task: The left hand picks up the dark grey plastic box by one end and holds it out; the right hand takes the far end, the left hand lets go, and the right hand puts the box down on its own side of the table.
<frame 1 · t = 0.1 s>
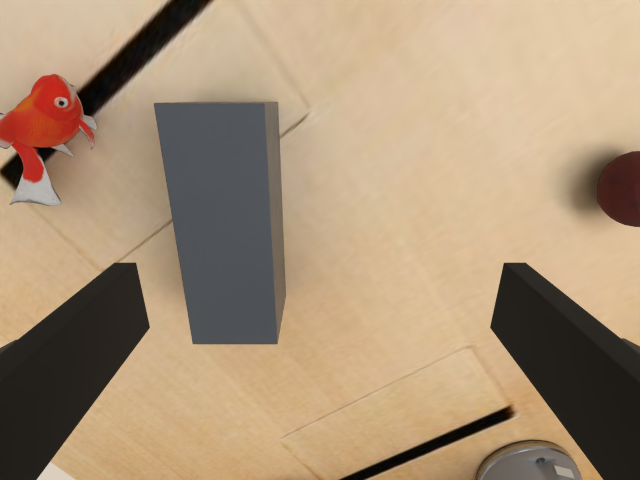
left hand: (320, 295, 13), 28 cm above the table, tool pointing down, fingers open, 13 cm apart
box: (244, 209, 41), on the table
fish: (66, 142, 38), on the table
dark red ball: (613, 180, 39), on the table
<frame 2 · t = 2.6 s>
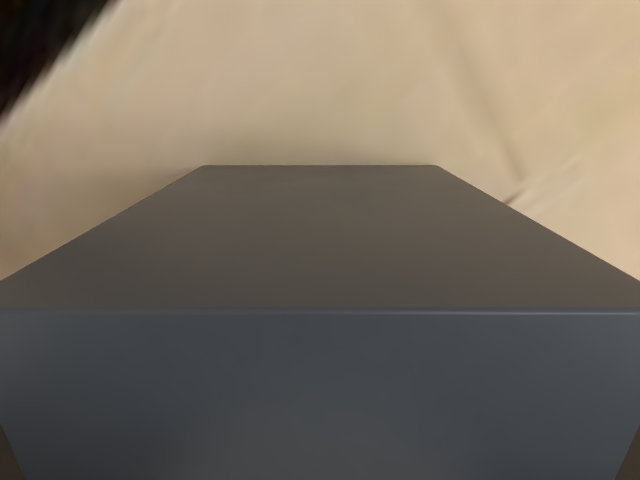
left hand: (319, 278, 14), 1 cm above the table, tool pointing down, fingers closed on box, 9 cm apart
box: (320, 403, 17), on the table, touching left hand
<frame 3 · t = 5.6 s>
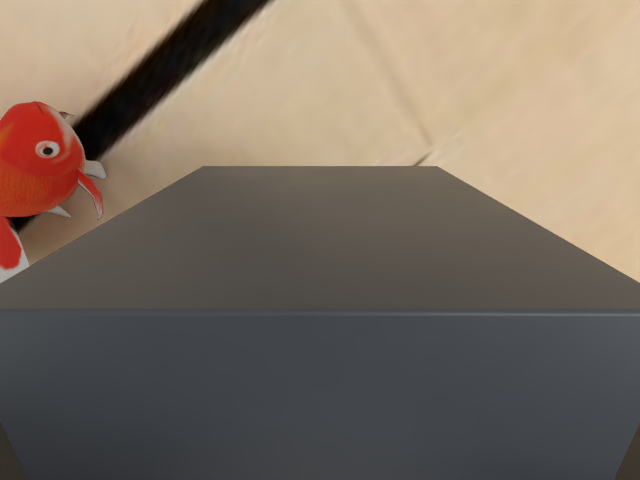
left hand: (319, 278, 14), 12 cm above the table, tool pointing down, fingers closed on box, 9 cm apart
box: (320, 403, 17), point 11 cm above the table, touching left hand
fish: (58, 196, 25), on the table
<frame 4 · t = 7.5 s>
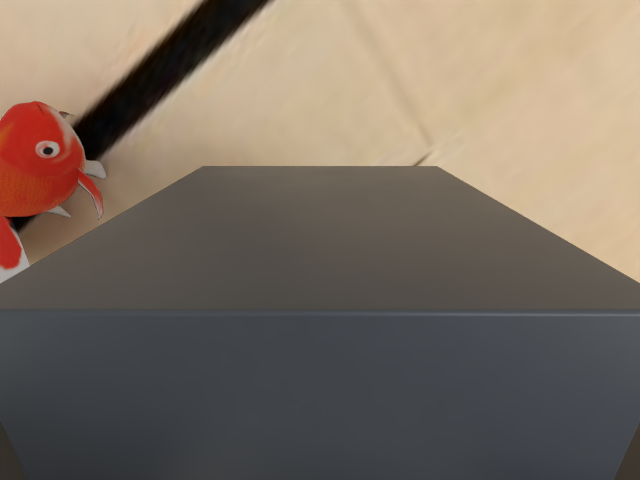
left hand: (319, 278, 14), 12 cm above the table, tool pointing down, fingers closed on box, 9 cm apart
box: (320, 403, 17), point 11 cm above the table, touching left hand, right hand
fish: (58, 196, 25), on the table
when the left hand's fingers open (12 cm above the table, at t = 8.5 s): box stays where it is, held by the right hand.
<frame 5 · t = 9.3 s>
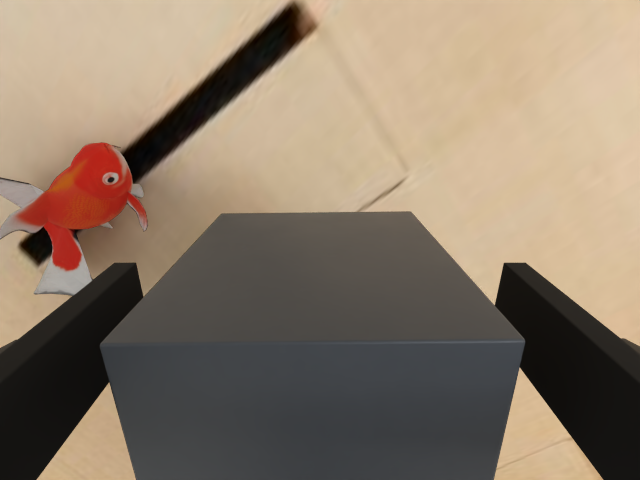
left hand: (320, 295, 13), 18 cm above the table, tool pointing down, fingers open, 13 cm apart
box: (319, 407, 20), point 14 cm above the table, touching right hand
fish: (103, 211, 31), on the table
when the right hand's fingers open (2 cm above the table, at t = 12.9 s): box drops 1 cm, on the table.
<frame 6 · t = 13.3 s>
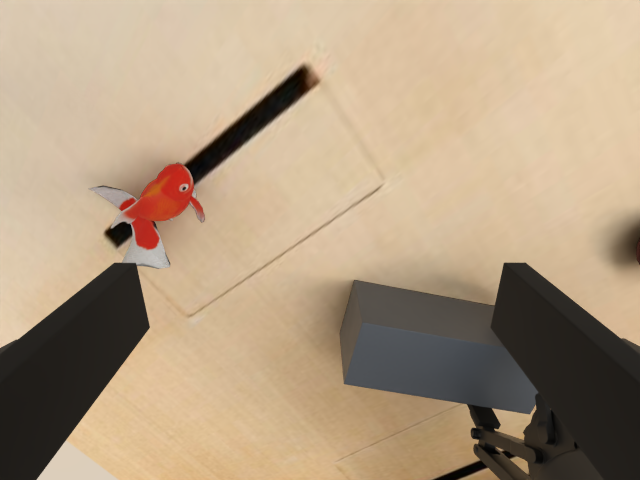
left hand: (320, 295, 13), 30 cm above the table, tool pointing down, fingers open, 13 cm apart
box: (427, 321, 49), on the table
fish: (166, 208, 43), on the table
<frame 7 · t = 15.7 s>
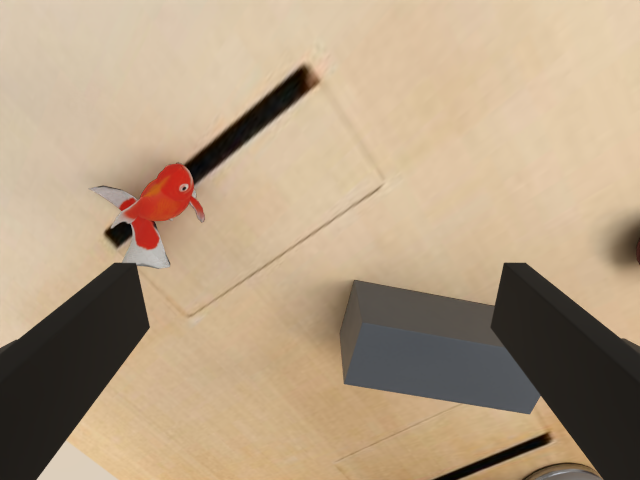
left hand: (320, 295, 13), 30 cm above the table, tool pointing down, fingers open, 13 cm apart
box: (427, 321, 49), on the table
fish: (166, 208, 43), on the table
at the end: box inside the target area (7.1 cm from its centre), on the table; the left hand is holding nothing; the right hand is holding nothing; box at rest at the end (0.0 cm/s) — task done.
